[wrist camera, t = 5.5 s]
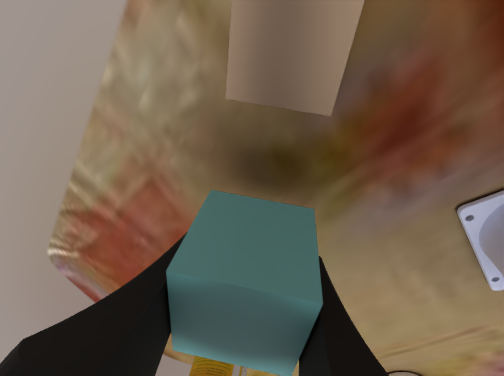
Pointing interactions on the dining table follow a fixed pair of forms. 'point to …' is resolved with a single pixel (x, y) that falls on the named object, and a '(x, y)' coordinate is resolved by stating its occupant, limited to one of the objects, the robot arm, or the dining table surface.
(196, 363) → the supplement bottle
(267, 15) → the tan cube
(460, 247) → the dining table surface
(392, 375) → the supplement bottle
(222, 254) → the teal block
